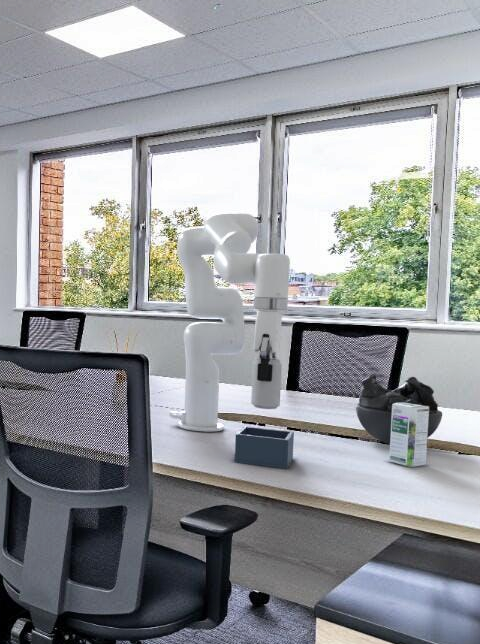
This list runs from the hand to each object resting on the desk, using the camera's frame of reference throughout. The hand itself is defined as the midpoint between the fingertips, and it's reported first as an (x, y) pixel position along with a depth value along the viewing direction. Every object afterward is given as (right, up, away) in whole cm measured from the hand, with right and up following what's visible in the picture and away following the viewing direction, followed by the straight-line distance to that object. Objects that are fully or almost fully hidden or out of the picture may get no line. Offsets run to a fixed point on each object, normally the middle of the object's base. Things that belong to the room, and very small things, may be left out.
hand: (266, 378), depth 169 cm
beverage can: (0, -7, +1) cm, 7 cm away
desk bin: (0, -20, +1) cm, 20 cm away
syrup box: (+34, -21, 0) cm, 40 cm away
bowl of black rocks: (+44, -20, +21) cm, 53 cm away
